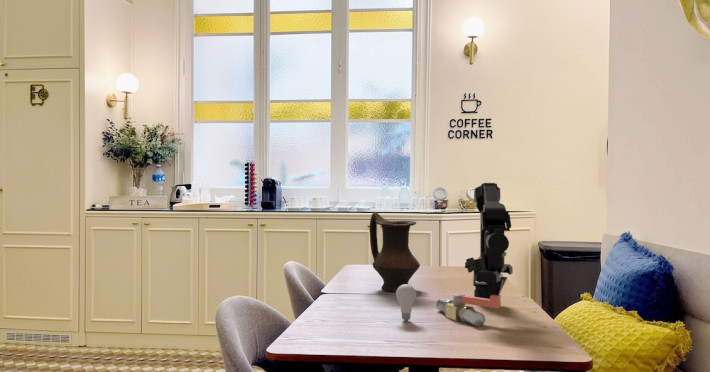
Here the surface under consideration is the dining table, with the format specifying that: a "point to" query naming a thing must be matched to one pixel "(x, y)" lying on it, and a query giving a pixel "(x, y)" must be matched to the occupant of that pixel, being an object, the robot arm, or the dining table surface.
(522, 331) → the dining table surface
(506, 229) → the robot arm
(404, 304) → the lightbulb
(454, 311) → the valve
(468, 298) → the lever
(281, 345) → the dining table surface
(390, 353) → the dining table surface
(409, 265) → the jug
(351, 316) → the dining table surface
